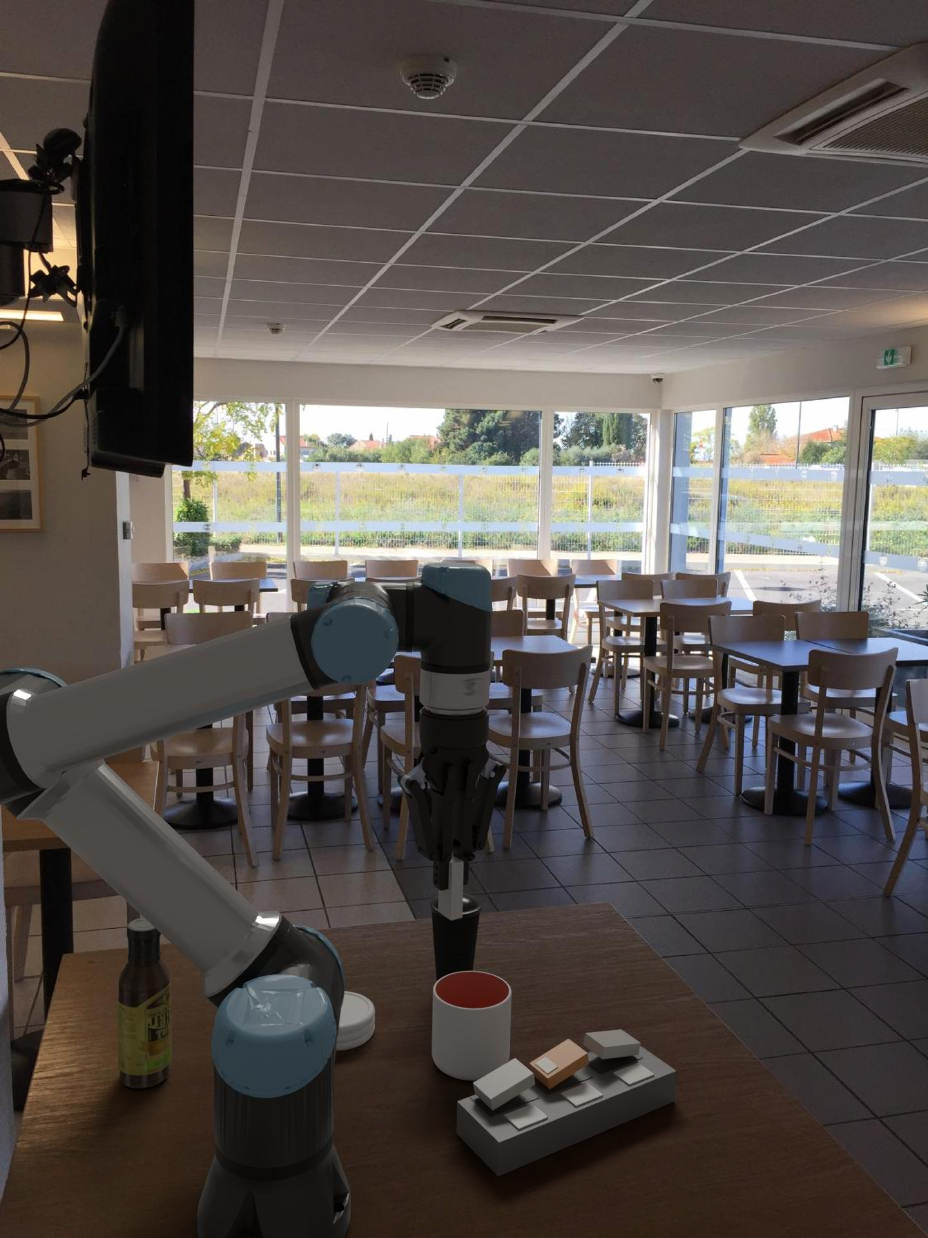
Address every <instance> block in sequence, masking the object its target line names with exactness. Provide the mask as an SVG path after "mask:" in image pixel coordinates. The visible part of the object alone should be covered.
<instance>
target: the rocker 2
mask: <svg viewBox="0 0 928 1238" xmlns="http://www.w3.org/2000/svg"><path fill="white" fill-rule="evenodd" d="M588 1053H589V1052H587V1051H586V1050H584V1049H583V1048H581V1047H580V1046H579V1045H577V1043H575V1042H574V1041H572V1040H571V1039H570V1038H568V1039H566V1040H564V1041H563V1042H561V1043H560V1044H558V1045H556V1046H555V1047H553V1048H551V1049H549V1050H548V1051H546V1052H545V1053H543V1054H542V1055H540V1056H539V1057H537V1058H535V1059H534V1060H531V1062H529V1070H530V1071H531V1072H532V1073H533V1074H534V1076H535V1077H536V1078H537V1079H538V1080H539V1081H541V1082H542V1083H543V1084H544V1085H545V1086H547V1087H548V1088H549V1089H551V1088H552V1087H554V1086H556V1085H557V1084H559V1083H560V1082H562V1081H563V1080H565V1079H566V1078H568V1077H569V1076H571V1075H572V1074H574V1073H576V1072H577V1071H579V1070H580V1069H582V1068H583V1067H585V1066H586V1065H588V1064H589V1059H588Z"/></svg>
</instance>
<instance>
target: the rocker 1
mask: <svg viewBox="0 0 928 1238" xmlns="http://www.w3.org/2000/svg"><path fill="white" fill-rule="evenodd" d="M472 1084H473V1085H472V1086H473V1091H474V1095H477V1096H478V1097H479V1098H480V1099H481V1100H482V1101H483V1102H484V1103H485V1104H486V1105H487V1106H488V1107H489V1108H490V1109H491V1110H494V1109H496V1108H498V1107H499V1106H501V1105H503V1104H504V1103H506V1102H507V1101H509V1100H511V1099H512V1098H514V1097H516V1096H517V1095H519V1094H520V1093H522V1092H524V1091H525V1090H527V1089H529V1088H530V1087H532V1086H533V1085H535V1080H534V1074H533V1073H532V1072H531V1069H530V1068H528V1067H526V1066H525V1065H524V1064H523V1063H522V1062H521V1061H519V1060H518V1059H517V1058H513V1059H510V1060H508V1062H507V1063H506V1064H504V1065H502V1066H501V1067H499V1068H497V1069H496V1070H494V1071H492V1072H491V1073H489V1074H487V1075H486V1076H484V1077H482V1078H480V1079H479V1080H474V1081H473V1082H472Z"/></svg>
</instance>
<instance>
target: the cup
mask: <svg viewBox="0 0 928 1238" xmlns="http://www.w3.org/2000/svg"><path fill="white" fill-rule="evenodd" d="M512 992H513V991H512V988H511V986H510V985H509V983H508V982H507V981H505V980H504V979H503V978H501V977H500V976H498V975H496V974H492V973H489V972H485V971H479V970H478V971H477V970H473V971H462V972H456V973H452V974H449V975H446V976H444V977H442V978H441V979H439V980H438V981H437V982H435V983H434V985H433V988H432V1015H431V1016H432V1021H431V1026H432V1027H431V1029H432V1030H431V1056H432V1060H433V1062H434V1064H435V1065H436V1068H438V1069H439V1070H440V1071H441V1072H442V1073H443V1074H446V1075H447V1076H449V1077H452V1078H454V1079H457V1080H462V1081H477V1080H479V1079H480V1078H482V1077H484V1076H486V1075H487V1074H489V1073H491V1072H492V1071H494V1070H496V1069H497V1068H499V1067H501V1066H502V1065H504V1064H506V1063H508V1062H509V1061H510V1053H511V1051H510V1050H511V1018H512V994H513V993H512Z"/></svg>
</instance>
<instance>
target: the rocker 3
mask: <svg viewBox="0 0 928 1238" xmlns="http://www.w3.org/2000/svg"><path fill="white" fill-rule="evenodd" d="M582 1043H583V1044H582V1045H583V1046H584V1047H585V1048H586V1049H588V1050H589V1051H590V1052H593V1053H595V1054H596V1055H597V1056H599V1057H600V1058H601V1059H608V1058H616V1057H625V1056H633V1055H638V1054H639V1049H640V1046H641V1045H642V1043H641V1042H640V1041H638V1040H637V1039H636V1038H634V1037H633V1036H631V1035H630V1034H629V1033H627V1032H626V1031H624V1030H623V1029H613V1030H612V1029H611V1030H602V1031H594V1032H593V1031H592V1032H585V1034H584V1039H583V1042H582Z"/></svg>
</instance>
